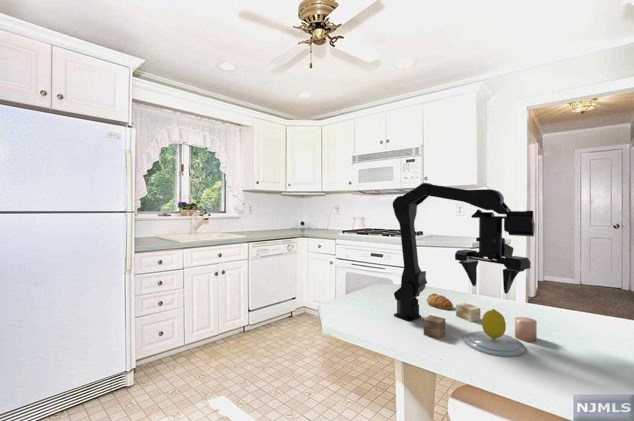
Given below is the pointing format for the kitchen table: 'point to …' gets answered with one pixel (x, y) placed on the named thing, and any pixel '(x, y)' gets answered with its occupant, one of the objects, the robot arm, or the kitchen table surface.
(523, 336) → the pink cylinder
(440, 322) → the walnut block
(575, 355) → the kitchen table surface
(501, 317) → the lemon
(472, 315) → the beech block
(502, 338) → the plate
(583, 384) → the kitchen table surface
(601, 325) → the kitchen table surface
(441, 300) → the pastry
